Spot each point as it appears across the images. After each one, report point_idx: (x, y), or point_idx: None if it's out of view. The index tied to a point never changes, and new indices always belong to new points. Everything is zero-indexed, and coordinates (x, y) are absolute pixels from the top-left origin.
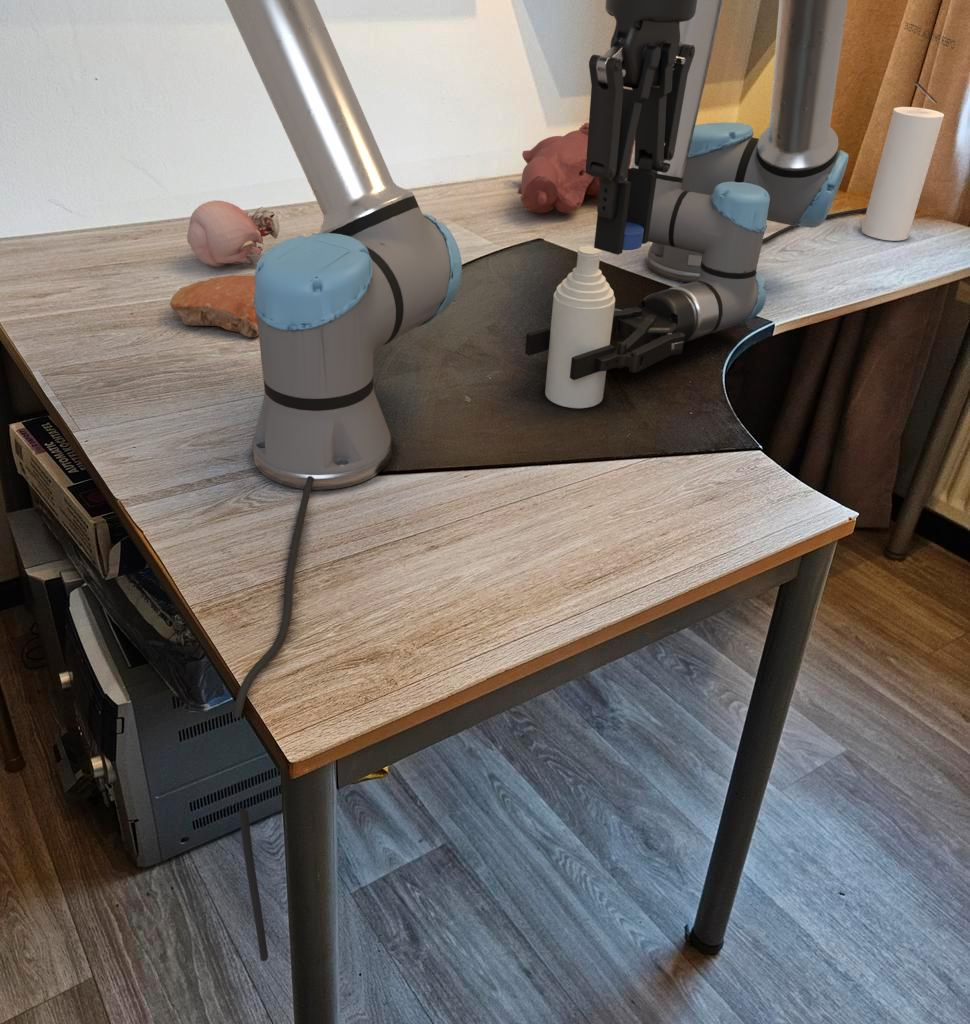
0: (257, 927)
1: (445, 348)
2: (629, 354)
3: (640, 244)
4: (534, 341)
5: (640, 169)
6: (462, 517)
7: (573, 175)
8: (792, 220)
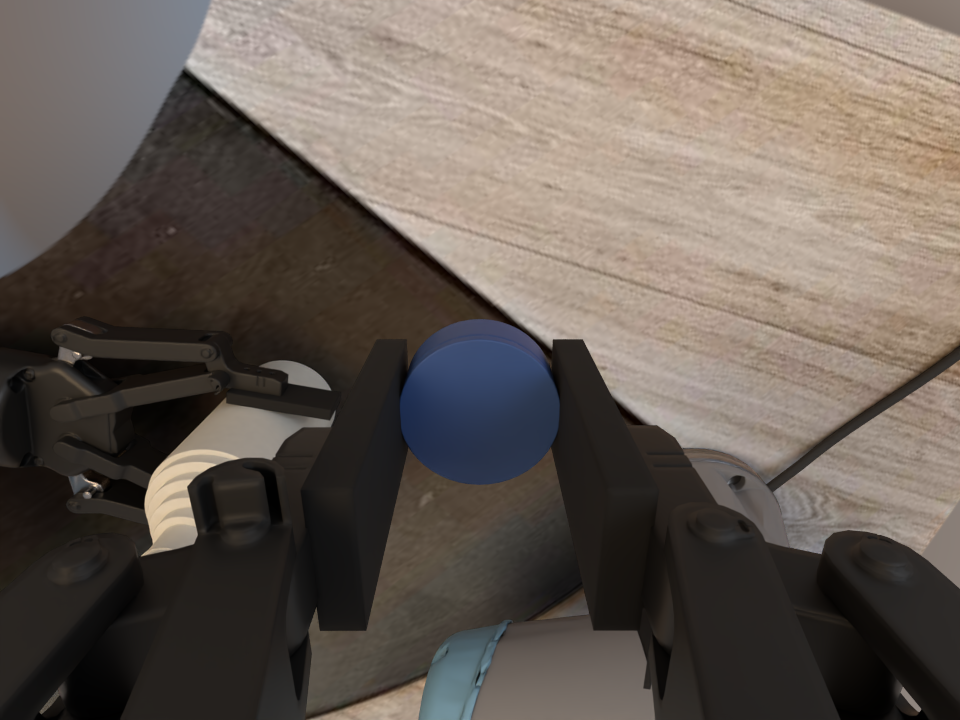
0: None
1: None
2: (215, 362)
3: (466, 323)
4: None
5: (315, 588)
6: (693, 305)
7: None
8: None
